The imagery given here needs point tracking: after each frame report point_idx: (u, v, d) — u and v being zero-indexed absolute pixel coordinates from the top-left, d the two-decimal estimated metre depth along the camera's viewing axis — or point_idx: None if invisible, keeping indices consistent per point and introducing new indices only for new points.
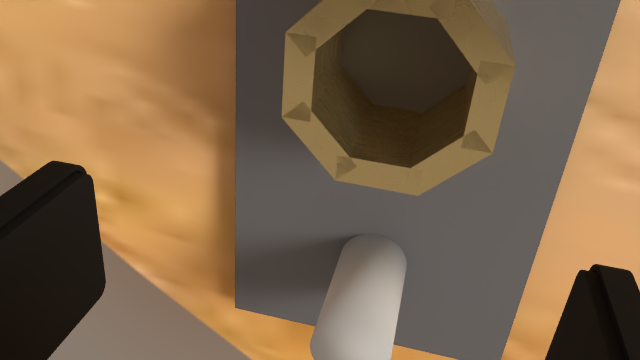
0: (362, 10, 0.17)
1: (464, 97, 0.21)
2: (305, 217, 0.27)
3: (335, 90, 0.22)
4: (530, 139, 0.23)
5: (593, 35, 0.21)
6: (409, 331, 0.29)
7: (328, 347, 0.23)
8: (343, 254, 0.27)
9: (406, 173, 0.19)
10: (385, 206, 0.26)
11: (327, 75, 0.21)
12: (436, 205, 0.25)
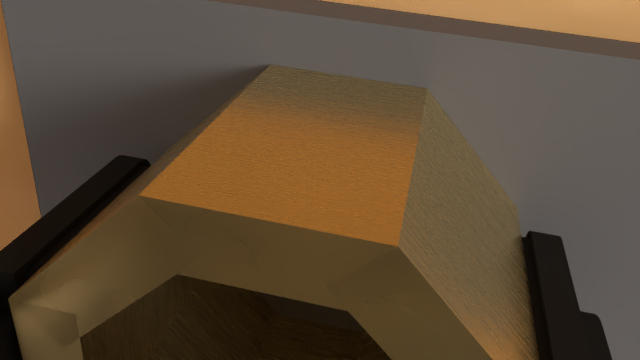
0: (166, 276, 0.07)
1: None
2: None
3: (188, 328, 0.11)
4: None
5: None
6: None
7: None
8: None
9: None
10: None
11: (162, 316, 0.10)
12: None
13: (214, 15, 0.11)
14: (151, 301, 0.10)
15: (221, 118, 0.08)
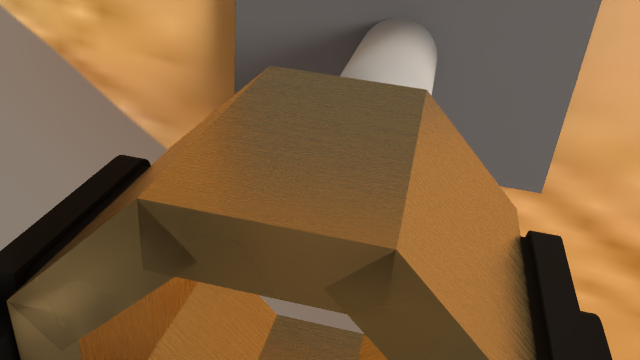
0: (165, 279, 0.07)
1: None
2: (318, 2, 0.23)
3: (188, 330, 0.11)
4: None
5: None
6: None
7: None
8: (363, 38, 0.23)
9: None
10: None
11: (161, 318, 0.10)
12: None
13: None
14: (150, 303, 0.10)
15: (220, 120, 0.08)
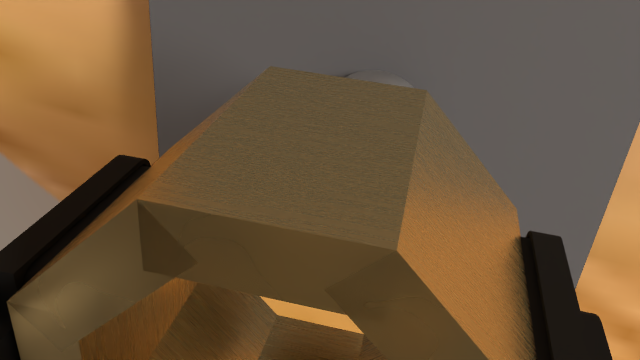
0: (165, 279, 0.07)
1: None
2: (262, 47, 0.17)
3: (188, 330, 0.11)
4: None
5: None
6: None
7: None
8: None
9: None
10: (394, 14, 0.15)
11: (161, 318, 0.10)
12: (482, 4, 0.15)
13: None
14: (150, 303, 0.10)
15: (220, 121, 0.08)
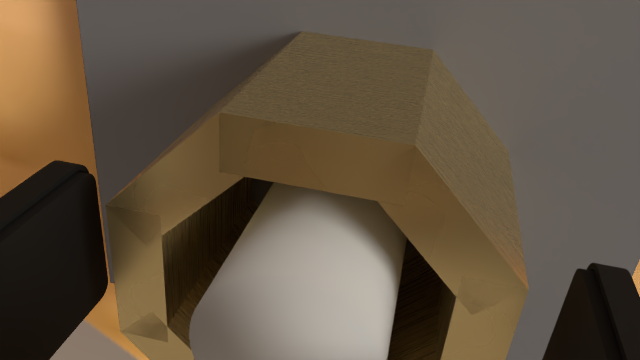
0: (236, 178, 0.09)
1: None
2: (216, 93, 0.14)
3: None
4: None
5: None
6: None
7: (232, 345, 0.09)
8: None
9: None
10: None
11: (212, 240, 0.13)
12: (479, 47, 0.12)
13: None
14: (206, 224, 0.12)
15: (269, 67, 0.10)
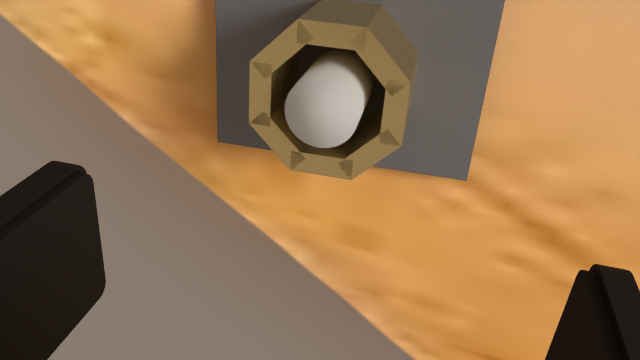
0: (303, 45, 0.24)
1: None
2: (281, 30, 0.29)
3: None
4: None
5: None
6: None
7: (301, 110, 0.24)
8: None
9: (341, 163, 0.26)
10: None
11: (284, 92, 0.28)
12: (401, 3, 0.27)
13: None
14: (282, 82, 0.27)
15: (312, 8, 0.26)
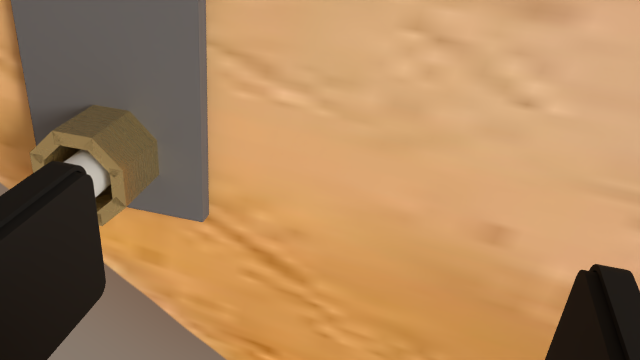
0: (58, 145, 0.39)
1: None
2: None
3: None
4: (178, 66, 0.40)
5: (191, 4, 0.38)
6: (147, 199, 0.46)
7: None
8: None
9: None
10: None
11: None
12: (141, 110, 0.42)
13: None
14: (62, 161, 0.42)
15: (73, 118, 0.41)
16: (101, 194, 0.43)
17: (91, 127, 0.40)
